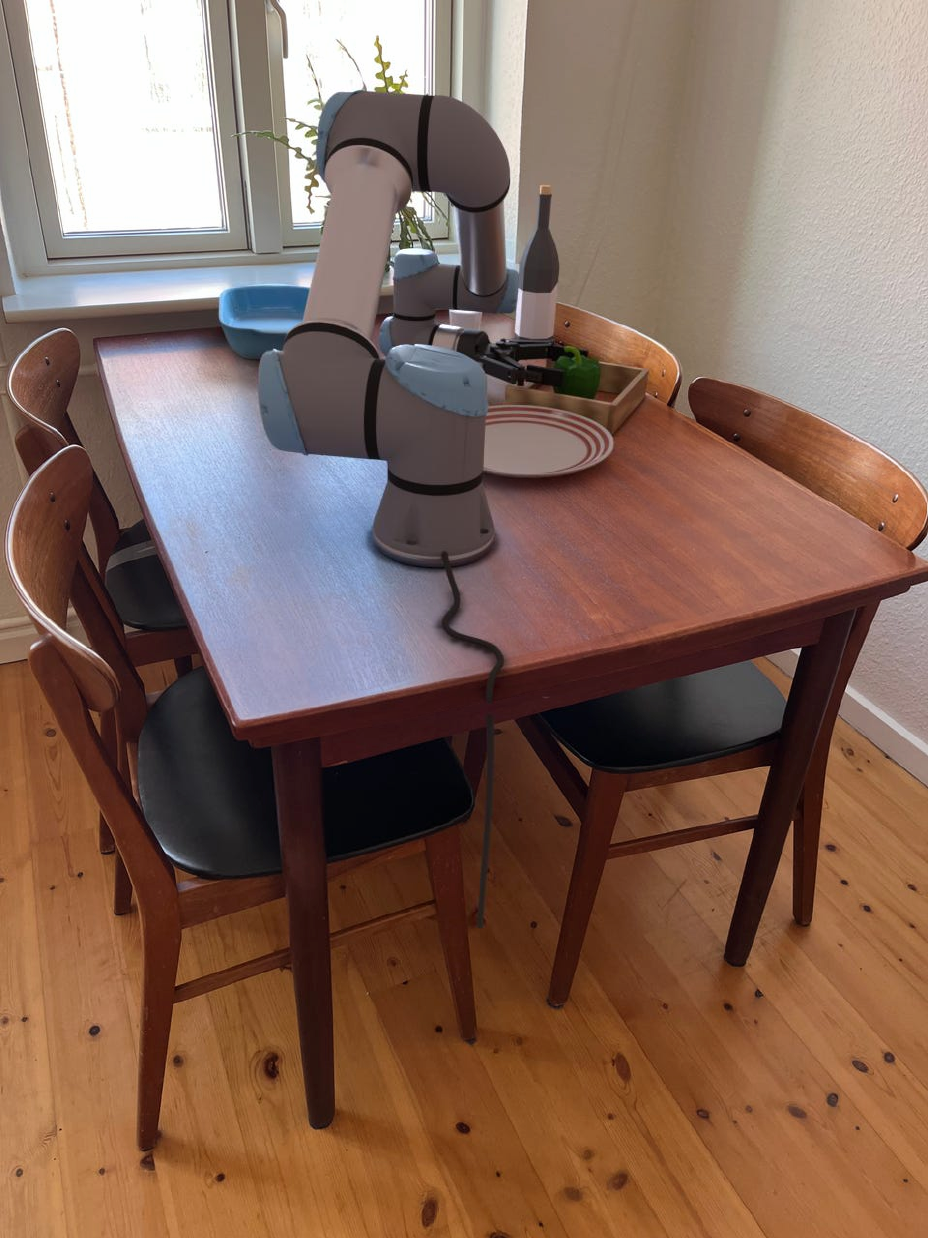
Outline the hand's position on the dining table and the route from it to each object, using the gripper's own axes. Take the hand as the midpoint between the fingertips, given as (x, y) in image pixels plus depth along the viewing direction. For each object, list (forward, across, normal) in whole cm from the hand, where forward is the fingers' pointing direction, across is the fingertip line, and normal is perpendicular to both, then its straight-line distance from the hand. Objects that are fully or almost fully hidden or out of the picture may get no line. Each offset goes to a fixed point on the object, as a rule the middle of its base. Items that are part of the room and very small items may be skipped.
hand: (576, 368), depth 160 cm
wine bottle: (-20, -34, -7) cm, 40 cm away
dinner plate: (0, +26, -7) cm, 27 cm away
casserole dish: (-65, -7, -7) cm, 66 cm away
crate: (0, 0, -6) cm, 6 cm away
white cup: (-31, -25, -7) cm, 40 cm away
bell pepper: (0, 0, -7) cm, 7 cm away
